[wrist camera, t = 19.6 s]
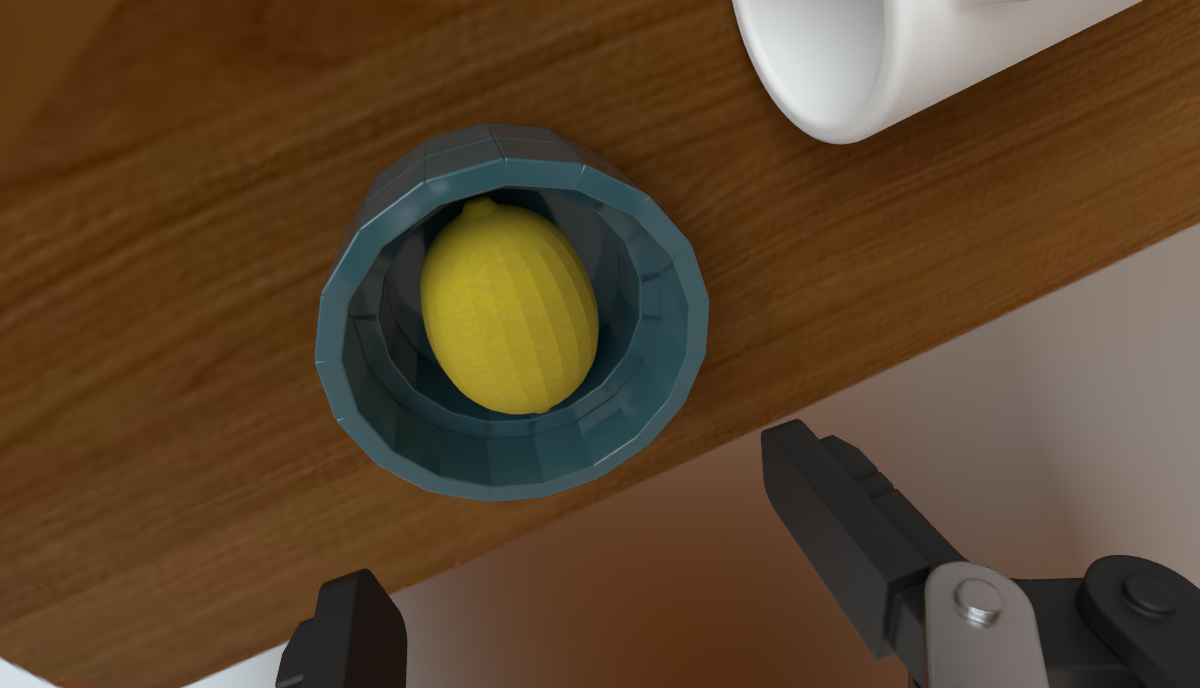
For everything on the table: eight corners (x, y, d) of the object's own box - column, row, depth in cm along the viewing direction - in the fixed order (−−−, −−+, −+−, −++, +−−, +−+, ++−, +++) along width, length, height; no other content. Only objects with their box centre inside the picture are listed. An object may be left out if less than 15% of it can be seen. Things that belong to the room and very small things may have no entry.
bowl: (279, 174, 18) (221, 237, 13) (620, 80, 19) (687, 105, 14) (416, 434, 24) (412, 545, 19) (667, 351, 25) (726, 435, 20)
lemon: (581, 350, 24) (532, 158, 20) (644, 417, 19) (598, 185, 15) (454, 403, 22) (372, 207, 18) (491, 490, 18) (393, 254, 13)
